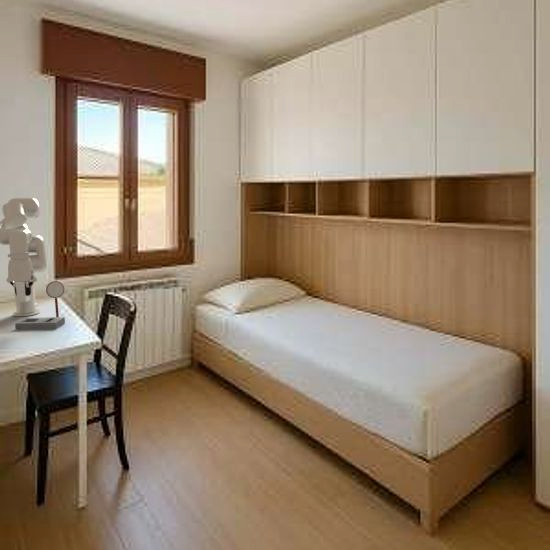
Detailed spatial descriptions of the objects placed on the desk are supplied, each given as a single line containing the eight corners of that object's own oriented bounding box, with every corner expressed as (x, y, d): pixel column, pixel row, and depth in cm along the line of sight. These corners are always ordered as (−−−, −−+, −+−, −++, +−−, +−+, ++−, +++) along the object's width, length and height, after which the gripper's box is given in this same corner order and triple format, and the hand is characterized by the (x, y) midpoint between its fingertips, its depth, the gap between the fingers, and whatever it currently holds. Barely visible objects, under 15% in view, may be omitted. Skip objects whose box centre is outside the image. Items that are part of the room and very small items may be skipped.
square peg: (21, 299, 230) (19, 279, 228) (30, 299, 230) (28, 279, 229) (17, 301, 226) (15, 280, 225) (26, 301, 226) (24, 280, 225)
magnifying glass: (49, 321, 246) (45, 282, 243) (48, 320, 247) (45, 281, 244) (67, 318, 251) (64, 280, 248) (66, 317, 252) (63, 280, 249)
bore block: (26, 323, 241) (25, 317, 240) (65, 322, 242) (64, 317, 241) (15, 329, 230) (14, 323, 230) (56, 328, 231) (55, 322, 230)
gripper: (-3, 258, 221) (1, 297, 224) (34, 257, 221) (37, 297, 224) (5, 255, 228) (9, 293, 231) (41, 255, 229) (44, 293, 232)
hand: (23, 295), depth 228 cm, fingers closed on square peg, 4 cm apart
